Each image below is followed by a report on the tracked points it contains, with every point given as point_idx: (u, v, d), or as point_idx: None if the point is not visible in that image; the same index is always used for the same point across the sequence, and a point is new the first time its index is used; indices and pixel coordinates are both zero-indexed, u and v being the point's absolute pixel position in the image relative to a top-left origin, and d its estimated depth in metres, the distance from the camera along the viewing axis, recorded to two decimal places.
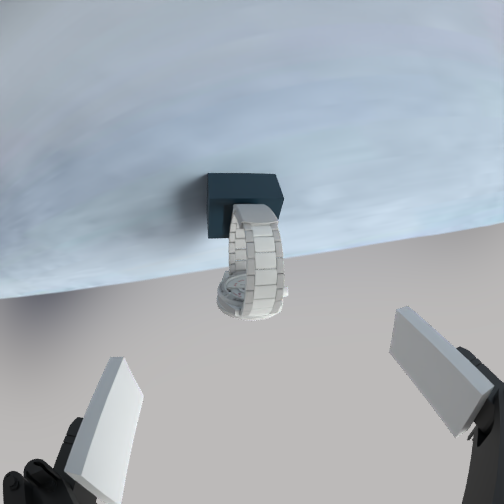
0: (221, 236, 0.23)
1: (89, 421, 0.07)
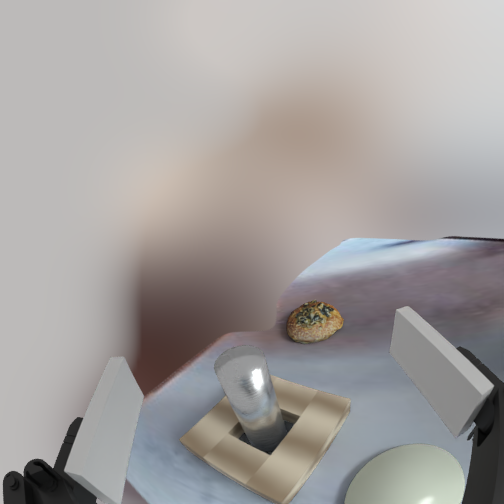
0: None
1: (89, 421, 0.07)
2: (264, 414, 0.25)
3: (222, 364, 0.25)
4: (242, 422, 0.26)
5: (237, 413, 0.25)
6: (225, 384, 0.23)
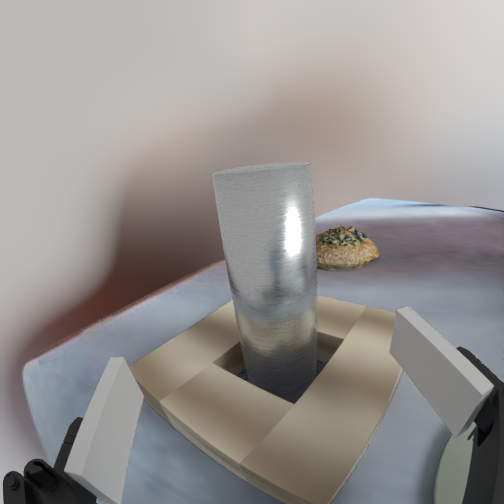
0: None
1: (89, 421, 0.07)
2: (297, 296, 0.14)
3: (228, 170, 0.14)
4: (247, 322, 0.15)
5: (241, 293, 0.14)
6: (232, 188, 0.12)
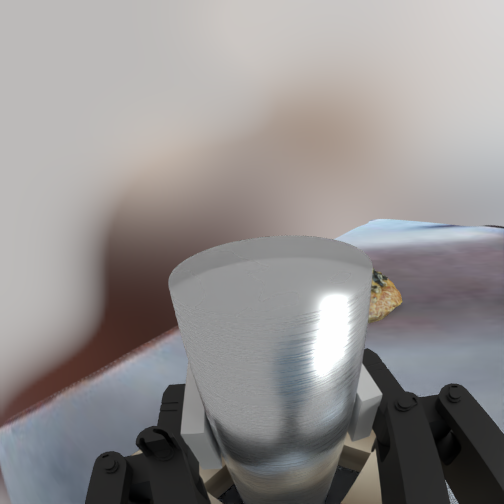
0: None
1: (194, 382, 0.09)
2: (319, 465, 0.07)
3: (204, 268, 0.07)
4: (240, 479, 0.08)
5: (230, 458, 0.07)
6: (205, 338, 0.05)
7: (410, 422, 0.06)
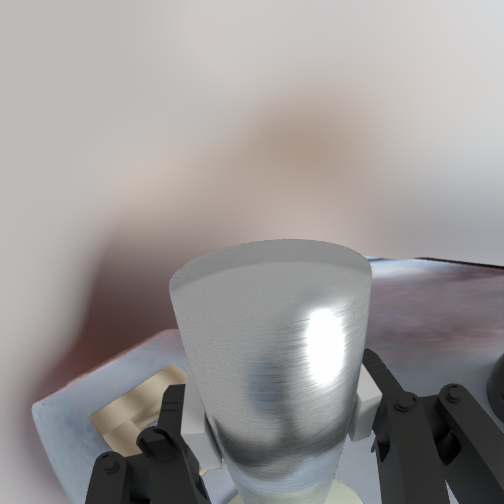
0: None
1: (194, 382, 0.09)
2: (318, 466, 0.07)
3: (204, 272, 0.07)
4: (241, 481, 0.08)
5: (231, 459, 0.07)
6: (206, 343, 0.05)
7: (410, 422, 0.06)
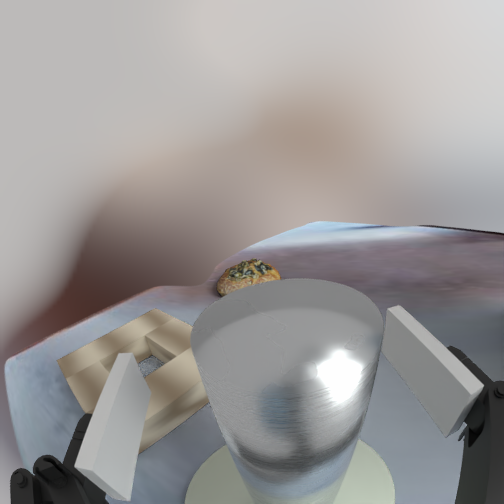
0: None
1: (99, 416, 0.07)
2: (328, 483, 0.07)
3: (223, 326, 0.07)
4: (257, 494, 0.08)
5: (249, 479, 0.07)
6: (232, 403, 0.05)
7: (503, 408, 0.05)
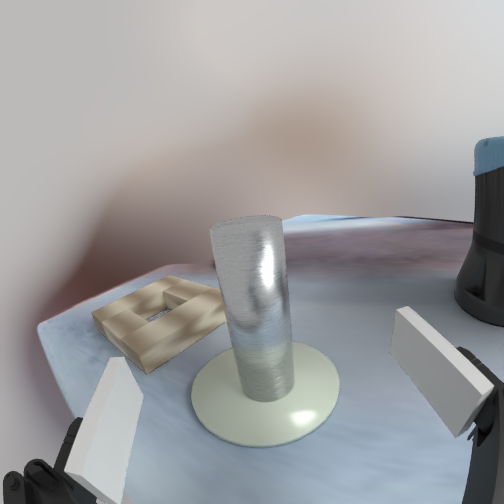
0: None
1: (89, 421, 0.07)
2: (272, 318, 0.19)
3: (221, 226, 0.19)
4: (237, 336, 0.20)
5: (232, 315, 0.19)
6: (223, 244, 0.17)
7: None
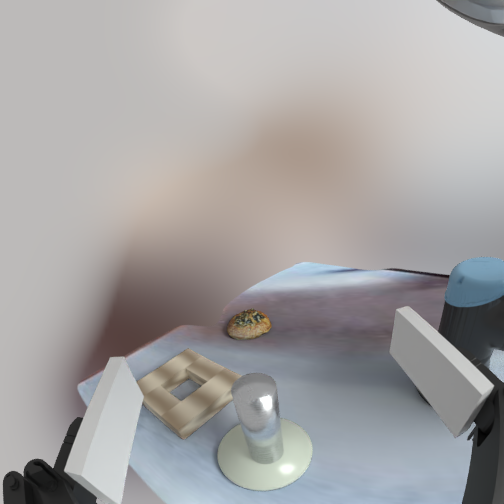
0: None
1: (89, 421, 0.07)
2: (269, 432, 0.27)
3: (238, 388, 0.28)
4: (248, 438, 0.28)
5: (245, 430, 0.28)
6: (241, 406, 0.26)
7: None
